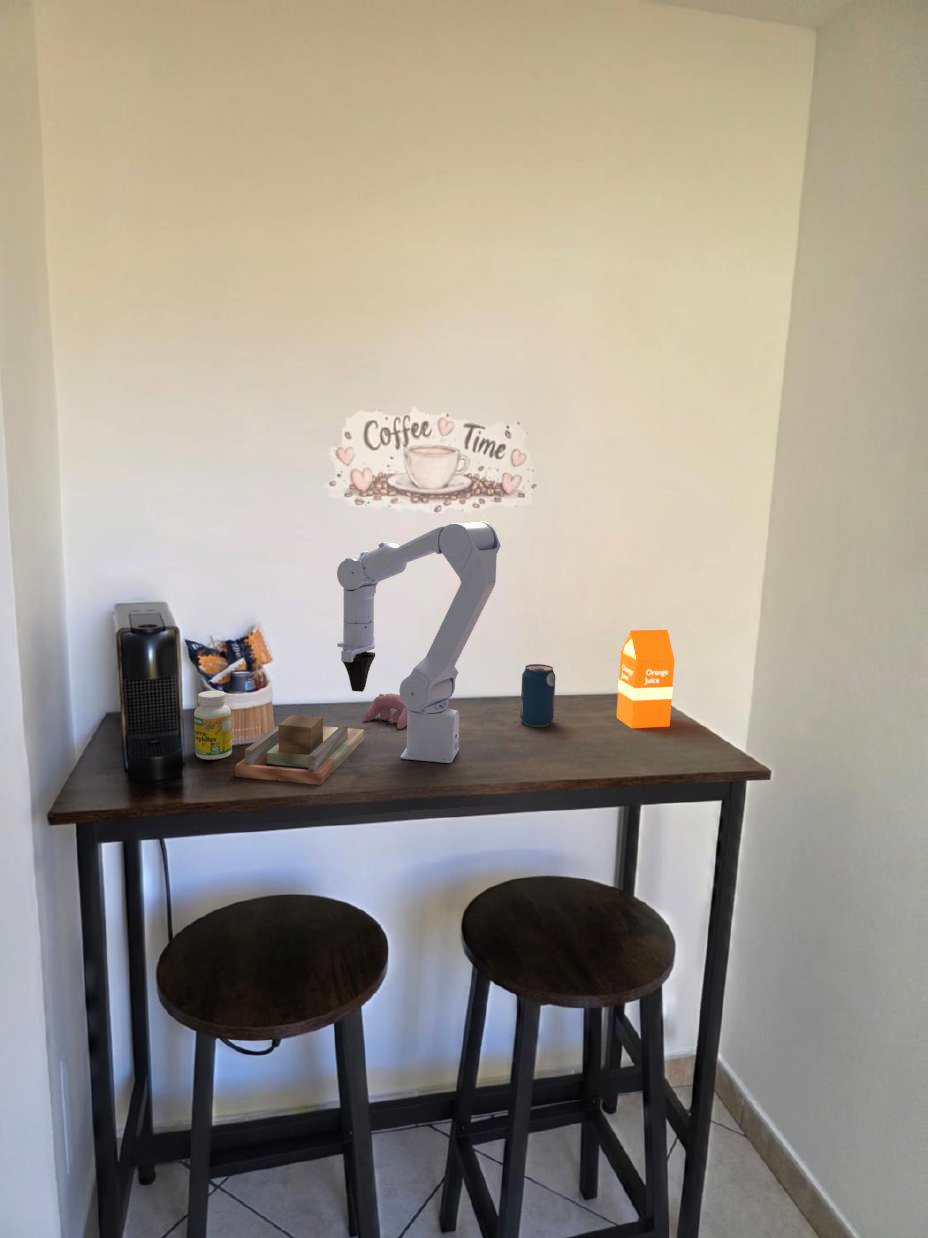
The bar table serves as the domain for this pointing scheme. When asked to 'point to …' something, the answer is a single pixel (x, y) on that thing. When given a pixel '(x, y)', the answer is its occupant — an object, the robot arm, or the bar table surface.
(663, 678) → the orange juice
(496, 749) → the bar table surface
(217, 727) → the supplement bottle
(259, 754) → the channel deck
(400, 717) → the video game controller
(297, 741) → the walnut block
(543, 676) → the soda can
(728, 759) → the bar table surface
